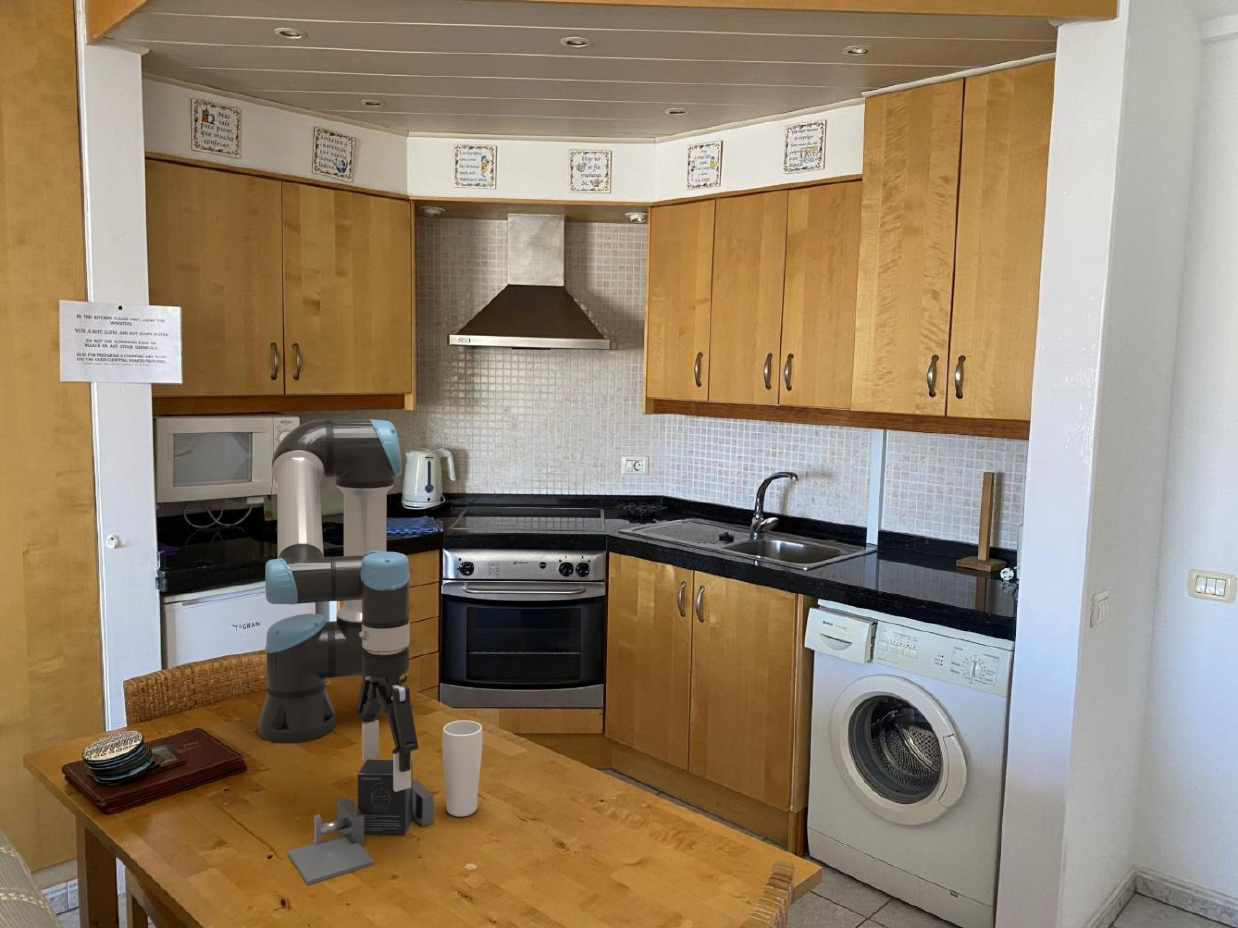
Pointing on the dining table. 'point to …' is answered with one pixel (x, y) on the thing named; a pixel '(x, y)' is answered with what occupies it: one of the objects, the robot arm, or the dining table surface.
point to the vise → (353, 818)
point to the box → (383, 799)
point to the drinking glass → (462, 766)
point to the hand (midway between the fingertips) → (385, 773)
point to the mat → (329, 859)
